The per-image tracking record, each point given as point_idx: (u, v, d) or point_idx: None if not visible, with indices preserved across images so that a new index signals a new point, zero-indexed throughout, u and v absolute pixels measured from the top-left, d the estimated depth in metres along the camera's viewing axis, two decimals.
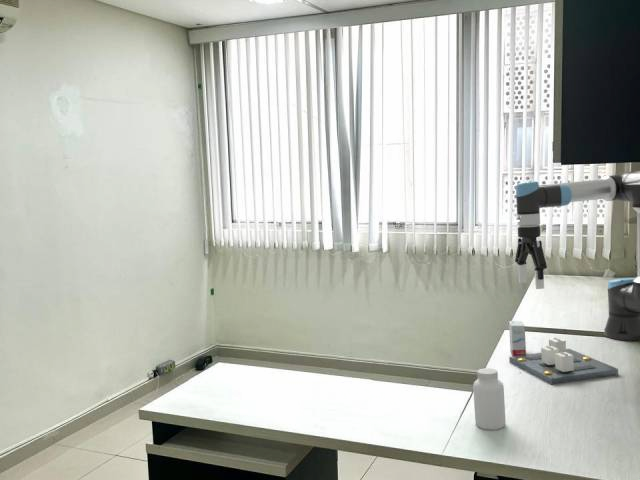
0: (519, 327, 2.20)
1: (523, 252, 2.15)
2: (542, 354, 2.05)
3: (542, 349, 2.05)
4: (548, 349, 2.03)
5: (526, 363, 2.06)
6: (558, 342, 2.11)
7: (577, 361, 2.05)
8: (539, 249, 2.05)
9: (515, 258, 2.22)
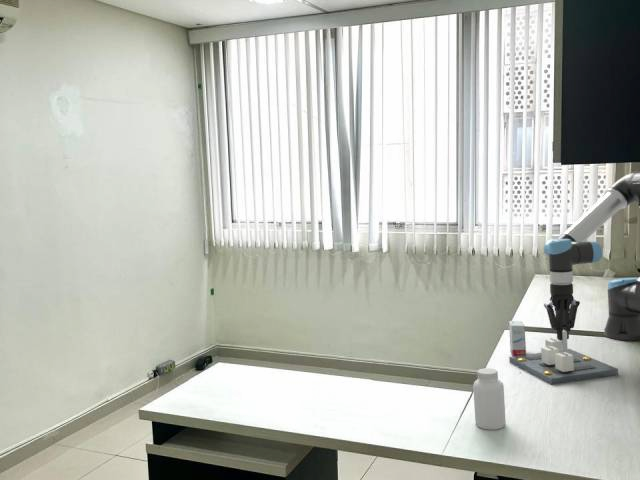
0: (519, 327, 2.20)
1: None
2: (542, 354, 2.05)
3: (542, 349, 2.05)
4: (548, 349, 2.03)
5: (526, 363, 2.06)
6: (554, 342, 2.11)
7: (577, 361, 2.05)
8: (549, 312, 2.12)
9: None
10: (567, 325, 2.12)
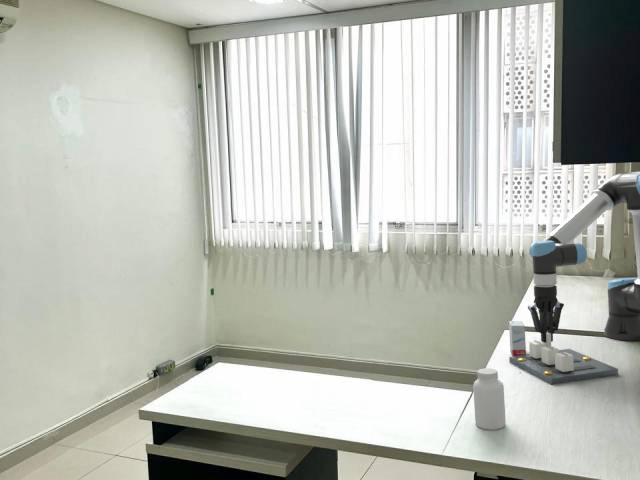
0: (519, 327, 2.20)
1: None
2: (542, 354, 2.05)
3: (542, 349, 2.05)
4: (548, 349, 2.03)
5: (526, 363, 2.06)
6: (538, 345, 2.10)
7: (577, 361, 2.05)
8: (533, 314, 2.10)
9: None
10: (551, 327, 2.11)
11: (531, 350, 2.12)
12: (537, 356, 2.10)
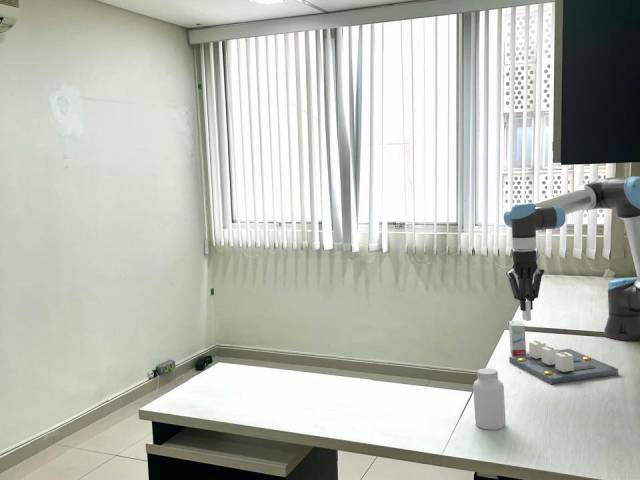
0: (519, 327, 2.20)
1: (525, 279, 2.01)
2: (542, 354, 2.05)
3: (542, 349, 2.05)
4: (548, 349, 2.03)
5: (526, 363, 2.06)
6: (538, 345, 2.10)
7: (577, 361, 2.05)
8: (511, 281, 1.99)
9: (534, 293, 2.03)
10: (531, 295, 2.00)
11: (531, 350, 2.12)
12: (537, 356, 2.10)
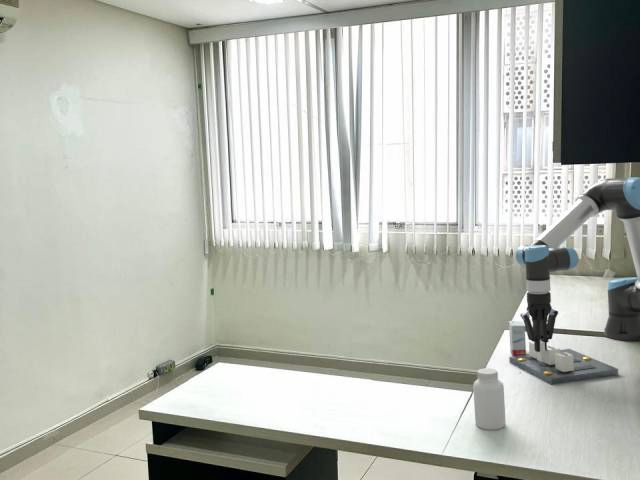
0: (519, 327, 2.20)
1: None
2: None
3: None
4: (549, 349, 2.03)
5: (526, 363, 2.06)
6: None
7: (577, 361, 2.05)
8: (526, 322, 2.01)
9: None
10: (545, 336, 2.02)
11: (531, 350, 2.12)
12: None
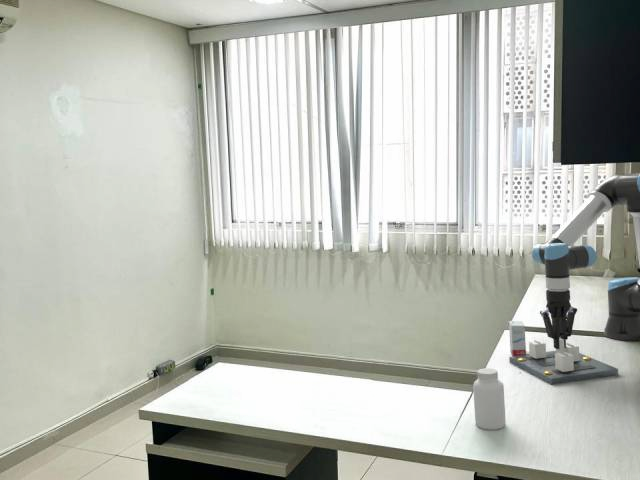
0: (519, 327, 2.20)
1: None
2: None
3: None
4: (568, 346, 2.04)
5: (526, 363, 2.06)
6: (538, 345, 2.10)
7: (577, 361, 2.05)
8: (545, 320, 2.03)
9: None
10: (564, 333, 2.03)
11: (531, 350, 2.12)
12: (537, 356, 2.10)
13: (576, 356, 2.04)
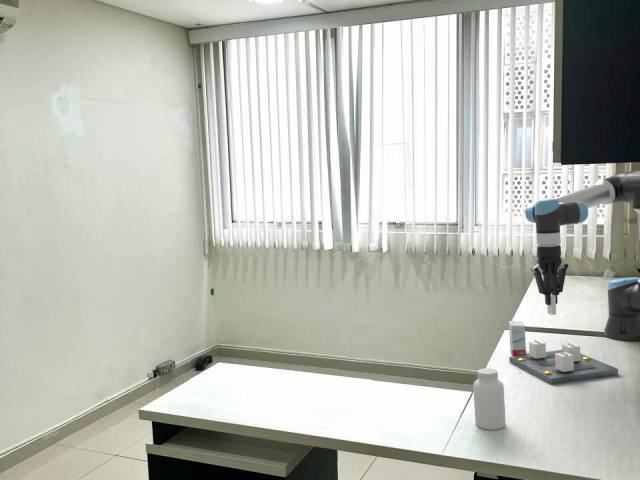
0: (519, 327, 2.20)
1: None
2: (563, 351, 2.07)
3: (563, 346, 2.06)
4: (569, 346, 2.04)
5: (526, 363, 2.06)
6: (538, 345, 2.10)
7: (577, 361, 2.05)
8: (536, 276, 2.02)
9: (558, 287, 2.06)
10: (555, 289, 2.03)
11: (531, 350, 2.12)
12: (537, 356, 2.10)
13: (577, 356, 2.04)
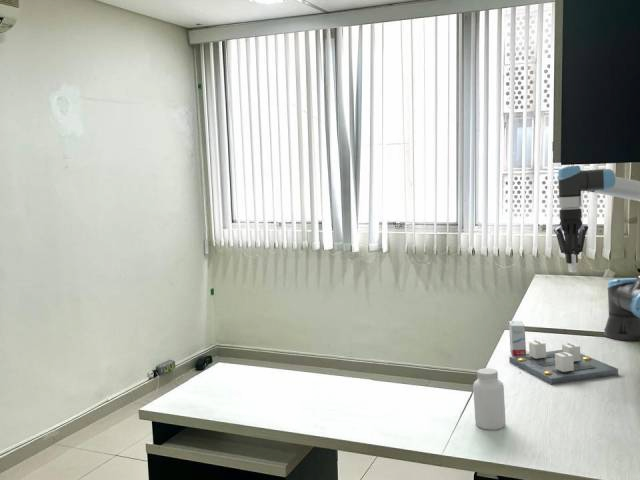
0: (519, 327, 2.20)
1: None
2: (563, 351, 2.07)
3: (563, 346, 2.06)
4: (569, 346, 2.04)
5: (526, 363, 2.06)
6: (538, 345, 2.10)
7: (577, 361, 2.05)
8: (558, 236, 2.20)
9: (578, 248, 2.24)
10: (576, 249, 2.21)
11: (531, 350, 2.12)
12: (537, 356, 2.10)
13: (577, 356, 2.04)
